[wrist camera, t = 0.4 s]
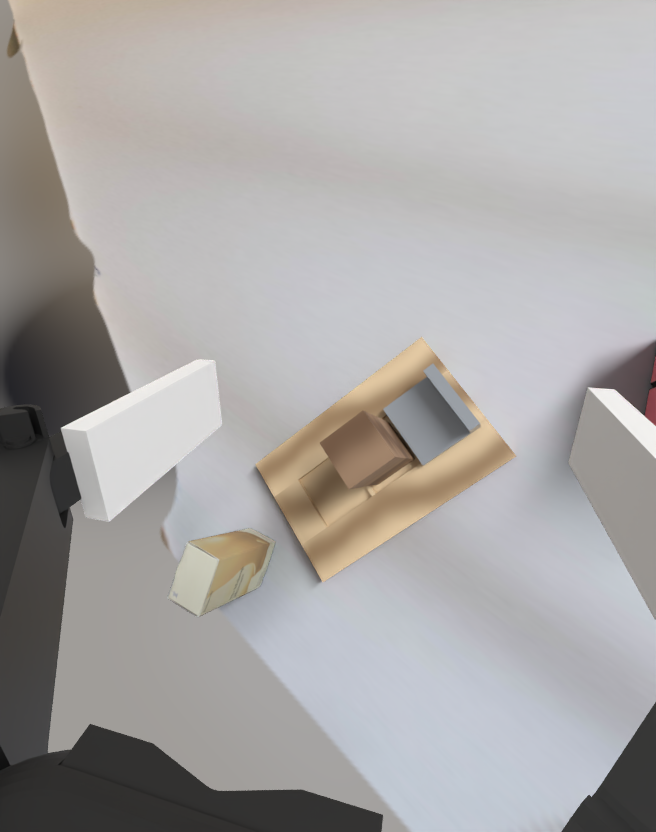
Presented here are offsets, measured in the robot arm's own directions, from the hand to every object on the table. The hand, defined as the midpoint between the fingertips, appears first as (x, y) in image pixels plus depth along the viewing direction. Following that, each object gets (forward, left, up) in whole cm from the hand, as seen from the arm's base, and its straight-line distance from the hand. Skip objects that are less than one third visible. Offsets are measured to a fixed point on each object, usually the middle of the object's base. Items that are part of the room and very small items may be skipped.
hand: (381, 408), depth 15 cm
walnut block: (+3, +6, -32) cm, 33 cm away
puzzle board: (+3, +8, -33) cm, 34 cm away
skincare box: (+2, +27, -33) cm, 43 cm away
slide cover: (+3, 0, -31) cm, 31 cm away
